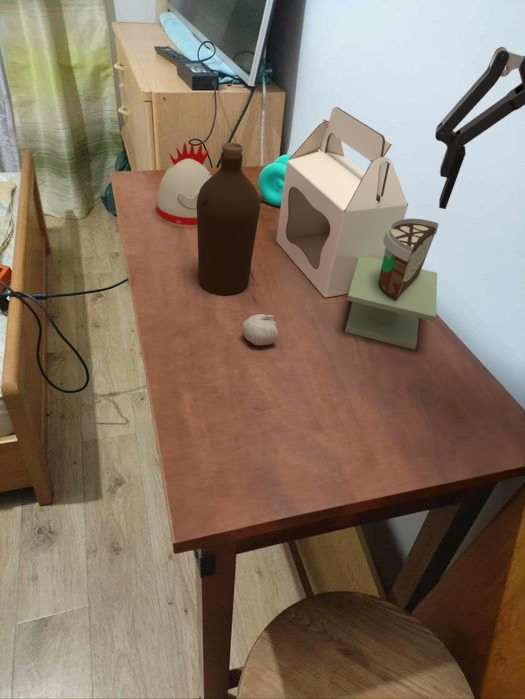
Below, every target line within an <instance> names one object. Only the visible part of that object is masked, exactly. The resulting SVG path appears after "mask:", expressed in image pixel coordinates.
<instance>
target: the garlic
mask: <svg viewBox="0 0 525 699" xmlns="http://www.w3.org/2000/svg"><path fill="white" fill-rule="evenodd" d="M274 317H275V316H274V315H272V314H264V313H261V314H259V313H257V314H254V315H250V316H249V317H248V318H247V319H246V320H244V321H243V323H242V326H241V332H242V335H243V337H244V338H245V339H246V340H247V341H248V342H250V343H251V344H252V345H255V346H268V345H272V344H274V343H276V341H277V340H278V338H279V331H278V323H277V322H276V321H275V320H274Z"/></svg>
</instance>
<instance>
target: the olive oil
mask: <svg viewBox="0 0 525 699" xmlns="http://www.w3.org/2000/svg"><path fill="white" fill-rule="evenodd" d="M242 153H243V146H242V145H241V144H239V143H237V142H225V143H223V144H222V146H221V153H220V167H219V169H218V170H217V171H215V173H213V175H211V177H210V178H209V179H208V180H207V181H206V182H205V183H204V184H203V185H202V187H201V189H200V191H199V194H198V198H197V224H196V229H197V280H198V283H199V285H200V287H201V288H202V289H204V290H205V291H207V292H209V293H211V294H215V295H219V296H231V295H232V296H233V295H237V294H240V293H242V292H243V291H245V290H246V289H247V288H248V286H249V282H250V276H251V267H252V261H253V254H254V248H255V243H256V235H257V229H258V224H259V218H260V211H261V201H260V196H259V193H258V190H257V189H256V187H255V185H254V184H253V183H252V181H250V179H249V178H248V177H247V176H246V175H245V173H244V172H243V170H242V167H243V166H242V165H243V158H244V157H243V156H244V155H243V154H242Z"/></svg>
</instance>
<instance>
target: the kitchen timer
mask: <svg viewBox="0 0 525 699" xmlns="http://www.w3.org/2000/svg"><path fill="white" fill-rule="evenodd" d="M175 150H176V154H177V157H176V158H175V157H174V156H173V155H172V153H171V152H169V157H170V160H171V162H172V164H170V166H168V168H167V170H165V173H164V175H163V177H162V179H161V181H160V183H159V187H158V190H157V195H156V211H157V214H158V215H159V216H160V218H162V219H164V220H165V221H167V222H171V223H174V224H178V225H185V226H189V225H191V226H193V225H196V226H197V198H198V194H199V191H200V189H201V187H202V185H203V184H204V183H205V182H206V181H207V180H208V179H209V178H210V177H211V176H212V175H211V173H210V171H209V170H208V169H207V167H206V166H205V165H204V163H205V161H206V159H207V157H208V155H209V152H210V150H209V149H207V150H206V151H205V152H204V153H203V145H202V143H200V144H199V146H198V149H197V152H195V147H194V144H193V142H191V143H190V149H189V151H188V148H187V144H186V142H185V141H184V142H183V146H182V152H181V151H180V149H179V148H178V147H176V148H175Z"/></svg>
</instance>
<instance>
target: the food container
mask: <svg viewBox="0 0 525 699" xmlns="http://www.w3.org/2000/svg"><path fill="white" fill-rule="evenodd" d="M439 225H440V223H439V222H437V221H432V220H428V219H423V218H414V217H413V218H404V219H401V220H398V221H396V222H394V223H393V224H392V225H391V226H390V227H389V229H388V230H387V232H386V234H385V236H384V238H383V242H384V245H385V246H386V248H385V253H384V258H383V263H382V267H381V272H380V277H379V282H378V285H379V288H380V290H381V291H382V292H383V293H384V294H385V295H386V296H388V297H389V298H391V299H393V300H395V301H397V300H398V299H399V298H400V297H401V296H402V295H403V294H404V293H405V292H406V291H407V290H408V289H409V287H410V286H411V285H412V284H413V283H414V282H415V281H416V280H417V279H418V277H419V274H420V272H421V269H423V267H424V265H425V261H426V258H427V257H428V253H429V250H430V249H431V245H432V243H433V241H434V238H435V236H436V235H437V232H438V229H439Z"/></svg>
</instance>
